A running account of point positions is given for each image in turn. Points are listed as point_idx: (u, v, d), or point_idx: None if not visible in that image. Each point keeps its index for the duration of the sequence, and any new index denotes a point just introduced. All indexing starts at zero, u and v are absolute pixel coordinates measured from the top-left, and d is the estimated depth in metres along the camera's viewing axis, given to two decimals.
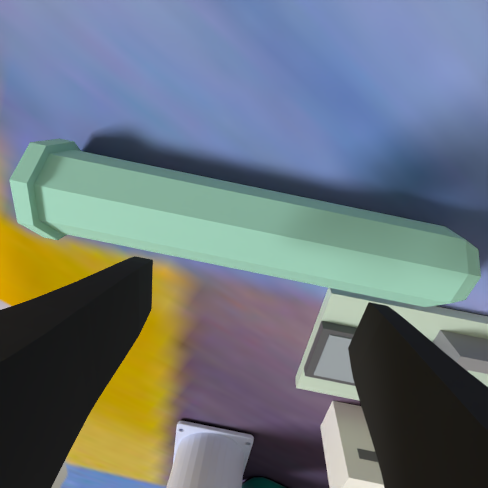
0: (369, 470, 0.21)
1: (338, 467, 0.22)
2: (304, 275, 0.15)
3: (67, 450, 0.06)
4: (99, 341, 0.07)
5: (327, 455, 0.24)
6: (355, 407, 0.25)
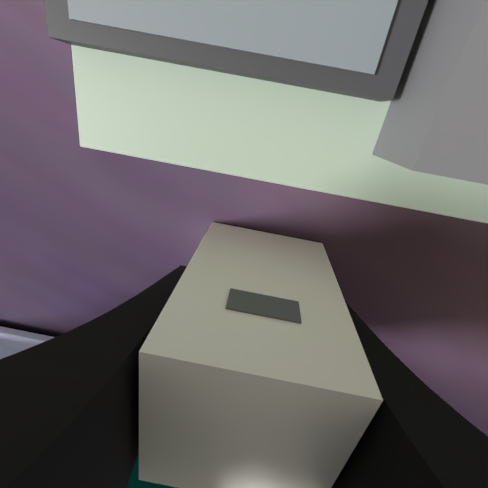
0: (247, 339, 0.05)
1: None
2: None
3: (133, 464, 0.06)
4: None
5: None
6: (268, 235, 0.10)
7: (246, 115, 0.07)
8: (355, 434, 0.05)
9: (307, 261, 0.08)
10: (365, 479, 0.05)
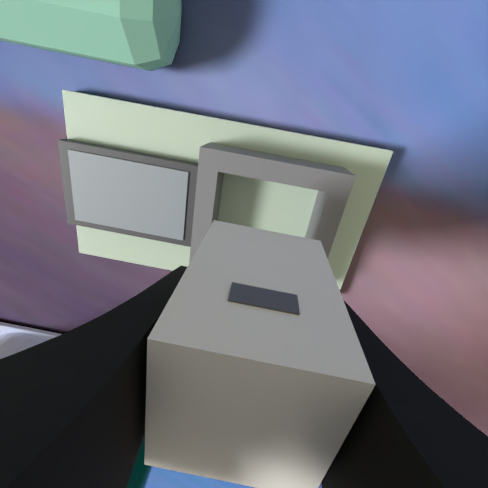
0: (249, 328, 0.05)
1: None
2: None
3: (133, 464, 0.06)
4: None
5: None
6: (268, 233, 0.10)
7: (146, 244, 0.18)
8: (350, 417, 0.05)
9: (305, 257, 0.09)
10: (365, 479, 0.05)
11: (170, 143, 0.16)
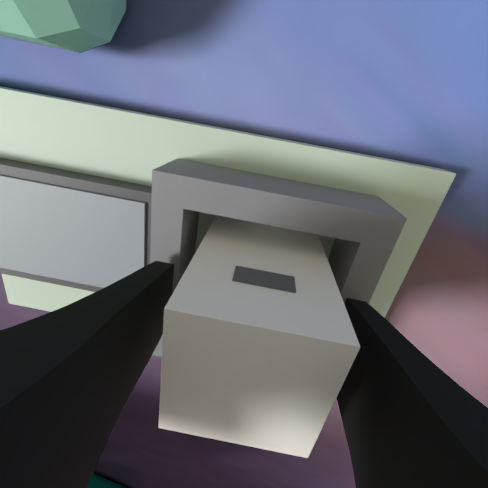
0: (251, 302, 0.06)
1: None
2: None
3: (98, 456, 0.06)
4: (128, 347, 0.07)
5: None
6: (268, 225, 0.11)
7: None
8: (339, 378, 0.06)
9: (302, 246, 0.09)
10: None
11: (120, 159, 0.10)
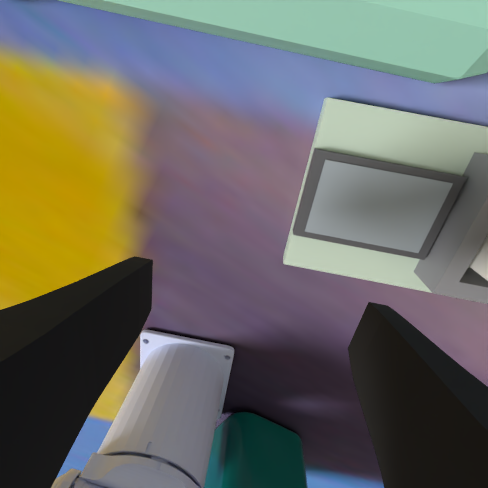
0: None
1: None
2: None
3: (67, 450, 0.06)
4: (99, 341, 0.07)
5: None
6: None
7: (361, 256, 0.18)
8: None
9: None
10: None
11: (429, 153, 0.15)
